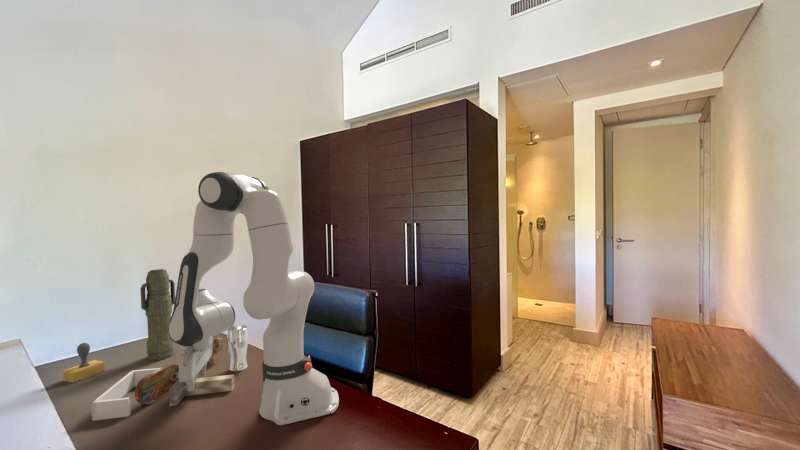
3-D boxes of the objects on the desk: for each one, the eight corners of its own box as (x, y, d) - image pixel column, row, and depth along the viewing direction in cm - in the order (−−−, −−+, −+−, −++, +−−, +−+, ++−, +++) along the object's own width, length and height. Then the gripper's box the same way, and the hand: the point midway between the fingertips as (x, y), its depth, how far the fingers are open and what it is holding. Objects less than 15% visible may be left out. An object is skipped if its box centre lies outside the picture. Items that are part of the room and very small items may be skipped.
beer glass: (244, 362, 136) (243, 323, 135) (252, 367, 131) (250, 327, 130) (225, 368, 131) (223, 328, 130) (232, 374, 126) (230, 332, 125)
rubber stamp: (73, 383, 121) (71, 348, 121) (62, 381, 123) (61, 347, 123) (105, 371, 131) (104, 339, 130) (95, 369, 133) (93, 337, 132)
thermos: (138, 360, 140) (134, 271, 139) (168, 349, 151) (165, 267, 150) (152, 363, 136) (148, 273, 135) (182, 352, 147) (178, 268, 146)
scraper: (238, 378, 122) (238, 364, 122) (227, 399, 109) (226, 383, 109) (187, 384, 119) (187, 369, 119) (169, 406, 105) (168, 389, 105)
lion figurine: (226, 357, 141) (225, 335, 141) (222, 363, 136) (222, 339, 135) (184, 362, 137) (183, 339, 137) (179, 367, 132) (178, 343, 132)
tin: (142, 410, 104) (140, 381, 103) (133, 409, 104) (131, 380, 104) (183, 385, 118) (182, 360, 118) (175, 384, 119) (174, 359, 119)
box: (162, 382, 121) (161, 367, 121) (128, 416, 100) (128, 399, 100) (132, 385, 119) (131, 370, 119) (92, 420, 98) (91, 403, 98)
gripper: (195, 351, 103) (196, 398, 104) (216, 329, 123) (217, 368, 124) (171, 353, 102) (172, 400, 103) (196, 330, 122) (197, 370, 122)
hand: (197, 382), depth 113 cm, fingers open, 8 cm apart
